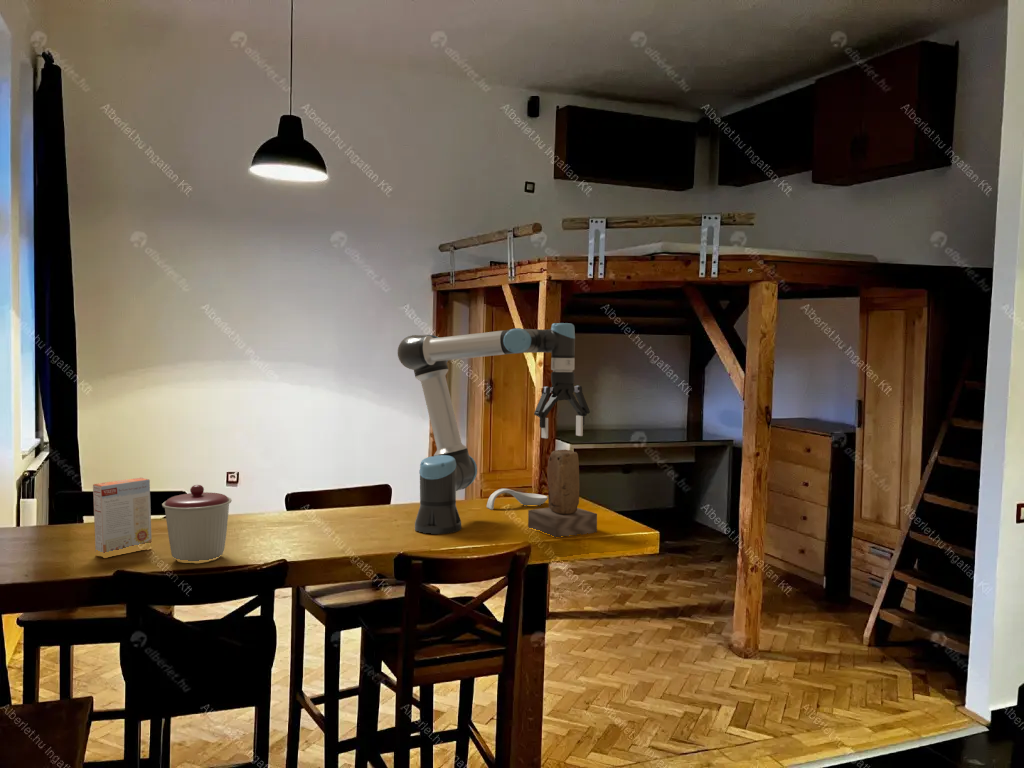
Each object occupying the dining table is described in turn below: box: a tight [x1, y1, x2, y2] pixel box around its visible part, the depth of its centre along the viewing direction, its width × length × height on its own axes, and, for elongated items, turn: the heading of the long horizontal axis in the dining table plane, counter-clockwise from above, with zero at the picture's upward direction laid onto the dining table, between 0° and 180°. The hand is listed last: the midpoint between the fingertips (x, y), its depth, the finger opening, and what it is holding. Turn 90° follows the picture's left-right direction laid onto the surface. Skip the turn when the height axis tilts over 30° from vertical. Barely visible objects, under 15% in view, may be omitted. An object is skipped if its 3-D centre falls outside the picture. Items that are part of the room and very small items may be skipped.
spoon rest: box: [486, 488, 548, 511], centre depth 302 cm, size 24×12×7 cm, turn 117°
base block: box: [527, 507, 598, 538], centre depth 263 cm, size 16×16×6 cm
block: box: [546, 449, 580, 514], centre depth 262 cm, size 11×8×20 cm
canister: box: [161, 484, 232, 561], centre depth 226 cm, size 18×18×21 cm
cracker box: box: [92, 477, 152, 553], centre depth 233 cm, size 14×6×21 cm, turn 141°
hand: (562, 436), depth 262 cm, fingers open, 13 cm apart
